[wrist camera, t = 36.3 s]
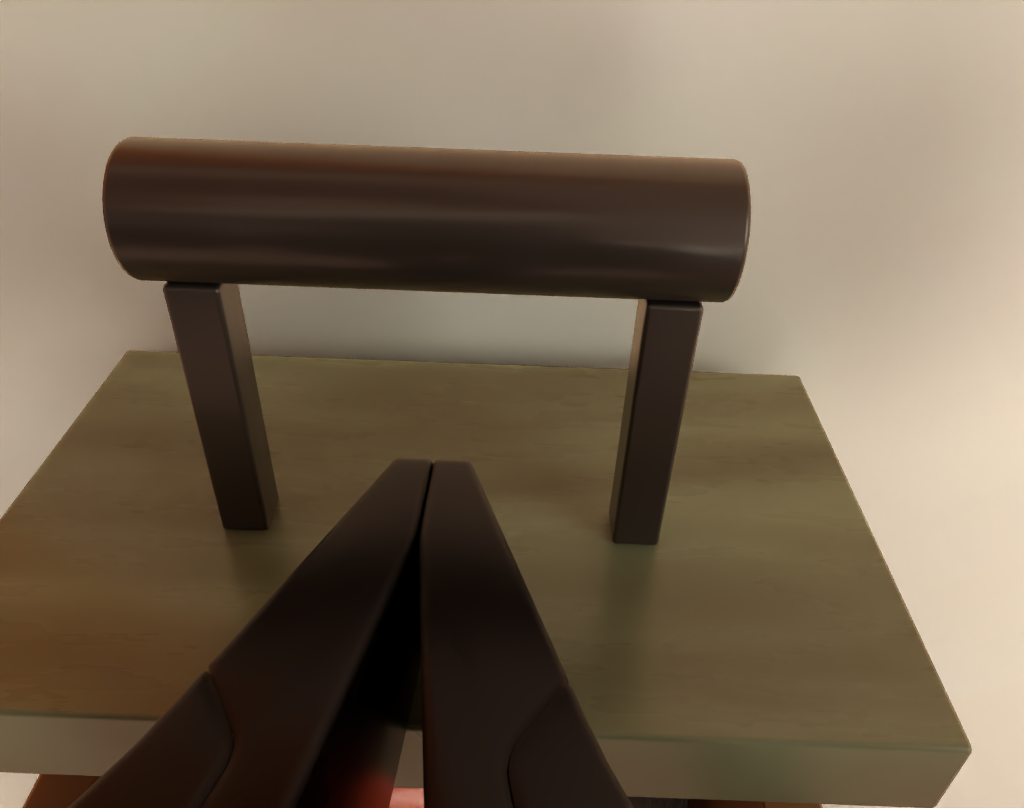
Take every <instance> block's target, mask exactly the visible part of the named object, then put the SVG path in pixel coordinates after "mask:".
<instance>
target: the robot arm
mask: <svg viewBox="0 0 1024 808" xmlns="http://www.w3.org/2000/svg"><path fill="white" fill-rule="evenodd" d="M420 665H421V696H422V742H423V788H424V808H634V807H633V805H632V804H631V802H630V800H629V798H628V797H627V795H626V793H625V791H624V790H623V788H622V786H621V785H620V783H619V781H618V779H617V778H616V776H615V774H614V772H613V771H612V769H611V767H610V765H609V764H608V762H607V760H606V758H605V756H604V753H603V751H602V749H601V747H600V745H599V743H598V741H597V739H596V737H595V735H594V733H593V731H592V729H591V727H590V725H589V723H588V721H587V719H586V717H585V715H584V712H583V710H582V708H581V706H580V703H579V701H578V699H577V697H576V694H575V692H574V690H573V688H572V687H571V686H570V685H568V684H569V681H568V677H567V675H566V673H565V671H564V669H563V666H562V664H561V662H560V660H559V657H558V655H557V653H556V651H555V648H554V646H553V644H552V642H551V639H550V637H549V635H548V633H547V630H546V628H545V626H544V624H543V621H542V619H541V617H540V615H539V613H538V610H537V608H536V606H535V604H534V601H533V599H532V597H531V595H530V592H529V590H528V588H527V586H526V583H525V581H524V579H523V577H522V574H521V572H520V570H519V568H518V565H517V563H516V561H515V559H514V557H513V554H512V552H511V550H510V548H509V545H508V543H507V541H506V539H505V536H504V534H503V532H502V530H501V527H500V525H499V523H498V521H497V518H496V516H495V514H494V512H493V510H492V507H491V505H490V503H489V501H488V498H487V496H486V494H485V492H484V489H483V487H482V485H481V483H480V480H479V478H478V476H477V474H476V471H475V469H474V467H473V465H472V464H471V462H469V461H468V460H454V459H438V460H436V461H435V463H434V464H433V463H432V461H431V460H430V459H427V458H397V459H395V460H394V461H393V462H392V463H391V464H390V465H389V466H388V467H387V469H386V470H385V471H384V472H383V473H382V474H381V475H380V476H379V477H378V479H377V480H376V481H375V482H374V483H373V484H372V485H371V486H370V487H369V489H368V490H367V491H366V492H365V493H364V494H363V495H362V496H361V497H360V498H359V500H358V501H357V502H356V503H355V504H354V505H353V506H352V507H351V508H350V510H349V511H348V512H347V513H346V514H345V515H344V516H343V517H342V518H341V520H340V521H339V522H338V523H337V524H336V525H335V526H334V527H333V528H332V529H331V531H330V532H329V533H328V534H327V535H326V536H325V537H324V538H323V539H322V541H321V542H320V543H319V544H318V545H317V546H316V547H315V548H314V549H313V551H312V552H311V553H310V554H309V555H308V556H307V557H306V558H305V559H304V561H303V562H302V563H301V564H300V565H299V566H298V567H297V568H296V569H295V570H294V572H293V573H292V574H291V575H290V576H289V577H288V578H287V579H286V580H285V582H284V583H283V584H282V585H281V586H280V587H279V588H278V589H277V590H276V592H275V593H274V594H273V595H272V596H271V597H270V598H269V599H268V600H267V602H266V603H265V604H264V605H263V606H262V607H261V608H260V609H259V610H258V611H257V613H256V614H255V615H254V616H253V617H252V618H251V619H250V620H249V621H248V623H247V624H246V625H245V626H244V627H243V628H242V629H241V630H240V631H239V633H238V634H237V635H236V636H235V637H234V638H233V639H232V640H231V641H230V643H229V644H228V645H227V646H226V647H225V648H224V649H223V650H222V651H221V652H220V654H219V655H218V656H217V657H216V658H215V659H214V660H213V661H212V662H211V664H210V665H209V667H208V669H209V672H210V673H209V672H208V671H203V672H202V673H201V674H200V675H199V676H198V677H197V679H196V680H195V681H194V682H193V683H192V684H191V685H190V686H189V687H188V689H187V690H186V691H185V692H184V693H183V694H182V695H181V696H180V697H179V699H178V700H177V701H176V702H175V703H174V704H173V705H172V706H171V707H170V708H169V709H168V710H167V711H166V712H165V713H164V714H163V715H162V716H161V717H160V719H159V720H158V721H157V722H156V723H155V724H154V725H153V726H152V727H151V728H150V729H149V730H148V731H147V732H146V733H145V734H144V735H143V736H142V737H141V739H140V740H139V741H138V742H137V743H136V744H135V745H134V746H133V747H131V748H130V749H129V750H128V751H127V752H126V753H125V754H124V755H123V756H122V757H121V758H120V759H119V760H118V761H117V762H116V763H115V764H114V765H113V766H112V767H111V768H109V769H108V770H107V771H106V772H105V773H104V774H103V775H102V776H101V777H100V778H99V779H98V780H97V781H96V782H95V783H94V784H93V785H92V786H91V787H90V788H89V789H87V790H86V791H85V792H84V793H83V794H82V795H81V796H80V797H79V798H78V799H77V800H76V801H74V802H73V803H72V804H71V805H70V806H69V807H68V808H389V806H390V801H391V797H392V792H393V788H394V783H395V779H396V774H397V770H398V765H399V760H400V756H401V751H402V747H403V742H404V738H405V733H406V729H407V724H408V720H409V715H410V711H411V706H412V702H413V697H414V693H415V688H416V684H417V679H418V675H419V670H420Z"/></svg>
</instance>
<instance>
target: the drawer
mask: <svg viewBox="0 0 1024 808" xmlns="http://www.w3.org/2000/svg"><path fill="white" fill-rule="evenodd" d="M102 202H103V216H104V223H105V228H106V233H107V237H108V240H109V243H110V247H111V249H112V252H113V254H114V256H115V258H116V260H117V262H118V263H119V265H120V266H121V268H122V269H123V270H124V271H125V272H126V273H127V274H128V275H130V276H132V277H134V278H136V279H138V280H144V281H167V282H166V283H165V285H164V287H163V292H164V296H165V300H166V304H167V308H168V312H169V316H170V320H171V324H172V328H173V332H174V336H175V340H176V344H177V348H178V352H156V351H128V352H126V354H125V355H124V356H123V358H122V359H121V360H120V362H119V363H118V364H117V366H116V367H115V368H114V370H113V371H112V372H111V374H110V375H109V376H108V377H107V379H106V380H105V381H104V383H103V384H102V385H101V387H100V388H99V389H98V391H97V392H96V393H95V395H94V396H93V397H92V399H91V400H90V401H89V403H88V404H87V405H86V407H85V408H84V409H83V411H82V412H81V413H80V415H79V416H78V417H77V419H76V420H75V421H74V423H73V424H72V425H71V427H70V428H69V429H68V430H67V432H66V433H65V434H64V436H63V437H62V438H61V440H60V441H59V442H58V444H57V445H56V446H55V448H54V449H53V450H52V452H51V453H50V454H49V456H48V457H47V458H46V460H45V461H44V462H43V464H42V465H41V466H40V468H39V469H38V470H37V472H36V473H35V474H34V476H33V477H32V478H31V480H30V481H29V482H28V483H27V485H26V486H25V487H24V489H23V490H22V491H21V493H20V494H19V495H18V497H17V498H16V499H15V501H14V502H13V503H12V505H11V506H10V507H9V509H8V510H7V511H6V513H5V514H4V515H3V517H2V518H1V519H0V772H7V773H33V774H40V775H39V777H38V779H37V781H36V782H35V784H34V786H33V788H32V790H31V792H30V794H29V796H28V798H27V800H26V802H25V804H24V806H23V808H68V807H69V806H70V805H71V804H72V803H73V802H74V801H76V800H77V799H78V798H79V797H80V796H81V795H82V794H83V793H84V792H85V791H86V790H87V789H89V788H90V787H91V786H92V785H93V784H94V783H95V782H96V781H97V780H98V779H99V778H100V777H101V776H102V775H103V774H104V773H105V772H106V771H107V770H108V769H109V768H111V767H112V766H113V765H114V764H115V763H116V762H117V761H118V760H119V759H120V758H121V757H122V756H123V755H124V754H125V753H126V752H127V751H128V750H129V749H130V748H131V747H133V746H134V745H135V744H136V743H137V742H138V741H139V740H140V739H141V737H142V736H143V735H144V734H145V733H146V732H147V731H148V730H149V729H150V728H151V727H152V726H153V725H154V724H155V723H156V722H157V721H158V720H159V719H160V717H161V716H162V715H163V714H164V713H165V712H166V711H167V710H168V709H169V708H170V707H171V706H172V705H173V704H174V703H175V702H176V701H177V700H178V699H179V697H180V696H181V695H182V694H183V693H184V692H185V691H186V690H187V689H188V687H189V686H190V685H191V684H192V683H193V682H194V681H195V680H196V679H197V677H198V676H199V675H200V674H201V673H202V672H203V671H208V672H209V669H208V667H209V665H210V664H211V662H212V661H213V660H214V659H215V658H216V657H217V656H218V655H219V654H220V652H221V651H222V650H223V649H224V648H225V647H226V646H227V645H228V644H229V643H230V641H231V640H232V639H233V638H234V637H235V636H236V635H237V634H238V633H239V631H240V630H241V629H242V628H243V627H244V626H245V625H246V624H247V623H248V621H249V620H250V619H251V618H252V617H253V616H254V615H255V614H256V613H257V611H258V610H259V609H260V608H261V607H262V606H263V605H264V604H265V603H266V602H267V600H268V599H269V598H270V597H271V596H272V595H273V594H274V593H275V592H276V590H277V589H278V588H279V587H280V586H281V585H282V584H283V583H284V582H285V580H286V579H287V578H288V577H289V576H290V575H291V574H292V573H293V572H294V570H295V569H296V568H297V567H298V566H299V565H300V564H301V563H302V562H303V561H304V559H305V558H306V557H307V556H308V555H309V554H310V553H311V552H312V551H313V549H314V548H315V547H316V546H317V545H318V544H319V543H320V542H321V541H322V539H323V538H324V537H325V536H326V535H327V534H328V533H329V532H330V531H331V529H332V528H333V527H334V526H335V525H336V524H337V523H338V522H339V521H340V520H341V518H342V517H343V516H344V515H345V514H346V513H347V512H348V511H349V510H350V508H351V507H352V506H353V505H354V504H355V503H356V502H357V501H358V500H359V498H360V497H361V496H362V495H363V494H364V493H365V492H366V491H367V490H368V489H369V487H370V486H371V485H372V484H373V483H374V482H375V481H376V480H377V479H378V477H379V476H380V475H381V474H382V473H383V472H384V471H385V470H386V469H387V467H388V466H389V465H390V464H391V463H392V462H393V461H394V460H395V459H397V458H427V459H430V460H431V461H432V463H433V464H434V463H435V461H436V460H438V459H454V460H468V461H469V462H471V464H472V465H473V467H474V469H475V471H476V474H477V476H478V478H479V480H480V483H481V485H482V487H483V489H484V492H485V494H486V496H487V498H488V501H489V503H490V505H491V507H492V510H493V512H494V514H495V516H496V518H497V521H498V523H499V525H500V527H501V530H502V532H503V534H504V536H505V539H506V541H507V543H508V545H509V548H510V550H511V552H512V554H513V557H514V559H515V561H516V563H517V565H518V568H519V570H520V572H521V574H522V577H523V579H524V581H525V583H526V586H527V588H528V590H529V592H530V595H531V597H532V599H533V601H534V604H535V606H536V608H537V610H538V613H539V615H540V617H541V619H542V621H543V624H544V626H545V628H546V630H547V633H548V635H549V637H550V639H551V642H552V644H553V646H554V648H555V651H556V653H557V655H558V657H559V660H560V662H561V664H562V666H563V669H564V671H565V673H566V675H567V677H568V681H569V684H568V685H570V686H571V687H572V688H573V690H574V692H575V694H576V697H577V699H578V701H579V703H580V706H581V708H582V710H583V712H584V715H585V717H586V719H587V721H588V723H589V725H590V727H591V729H592V731H593V733H594V735H595V737H596V739H597V741H598V743H599V745H600V747H601V749H602V751H603V753H604V756H605V758H606V760H607V762H608V764H609V765H610V767H611V769H612V771H613V772H614V774H615V776H616V778H617V779H618V781H619V783H620V785H621V786H622V788H623V790H624V791H625V793H626V795H627V796H630V797H656V798H682V799H690V804H689V808H823V807H822V804H838V805H864V806H890V807H916V808H933V807H935V806H936V805H937V803H938V802H939V800H940V799H941V797H942V796H943V794H944V793H945V791H946V790H947V788H948V787H949V785H950V784H951V782H952V781H953V779H954V778H955V776H956V775H957V773H958V772H959V770H960V769H961V767H962V766H963V764H964V763H965V761H966V760H967V758H968V757H969V755H970V754H971V750H972V749H971V745H970V742H969V740H968V738H967V736H966V734H965V732H964V730H963V727H962V725H961V723H960V721H959V719H958V717H957V714H956V712H955V710H954V708H953V706H952V704H951V702H950V699H949V697H948V695H947V693H946V691H945V689H944V687H943V684H942V682H941V680H940V678H939V676H938V674H937V672H936V669H935V667H934V665H933V663H932V661H931V659H930V657H929V654H928V652H927V650H926V648H925V646H924V644H923V641H922V639H921V637H920V635H919V633H918V631H917V629H916V626H915V624H914V622H913V620H912V618H911V616H910V614H909V611H908V609H907V607H906V605H905V603H904V601H903V599H902V596H901V594H900V592H899V590H898V588H897V586H896V584H895V581H894V579H893V577H892V575H891V573H890V571H889V568H888V566H887V564H886V562H885V560H884V558H883V556H882V553H881V551H880V549H879V547H878V545H877V543H876V541H875V538H874V536H873V534H872V532H871V530H870V528H869V526H868V523H867V521H866V519H865V517H864V515H863V513H862V511H861V508H860V506H859V504H858V502H857V500H856V498H855V496H854V493H853V491H852V489H851V487H850V485H849V483H848V480H847V478H846V476H845V474H844V472H843V470H842V468H841V465H840V463H839V461H838V459H837V457H836V455H835V453H834V450H833V448H832V446H831V444H830V442H829V440H828V438H827V435H826V433H825V431H824V429H823V427H822V425H821V423H820V420H819V418H818V416H817V414H816V412H815V410H814V407H813V405H812V403H811V401H810V399H809V397H808V395H807V392H806V390H805V388H804V386H803V384H802V382H801V380H800V377H798V376H788V375H762V374H736V373H709V372H691V371H692V366H693V361H694V356H695V350H696V345H697V340H698V335H699V330H700V325H701V319H702V314H703V306H702V303H701V302H724V301H727V300H729V299H730V298H731V297H732V296H733V294H734V292H735V291H736V288H737V286H738V284H739V281H740V278H741V276H742V272H743V269H744V265H745V260H746V255H747V250H748V243H749V235H750V223H751V196H750V187H749V181H748V176H747V172H746V169H745V167H744V165H743V164H742V163H741V162H739V161H737V160H734V159H708V158H681V157H654V156H628V155H601V154H575V153H548V152H522V151H495V150H468V149H442V148H415V147H389V146H362V145H336V144H309V143H282V142H256V141H229V140H203V139H176V138H150V137H129V138H126V139H124V140H122V141H121V142H119V143H118V144H117V145H116V146H115V148H114V149H113V151H112V153H111V155H110V157H109V159H108V162H107V165H106V169H105V174H104V180H103V194H102ZM238 284H250V285H277V286H303V287H329V288H356V289H382V290H409V291H435V292H462V293H488V294H514V295H541V296H567V297H594V298H620V299H638V307H637V314H636V321H635V328H634V336H633V343H632V350H631V357H630V364H629V369H604V368H578V367H551V366H525V365H498V364H472V363H446V362H419V361H393V360H367V359H340V358H314V357H288V356H261V355H251V351H250V346H249V340H248V335H247V330H246V325H245V319H244V314H243V309H242V304H241V299H240V293H239V288H238ZM209 673H210V672H209ZM394 787H397V788H423V742H422V696H421V665H420V670H419V675H418V679H417V684H416V688H415V693H414V697H413V702H412V706H411V711H410V715H409V720H408V724H407V729H406V733H405V738H404V742H403V747H402V751H401V756H400V760H399V765H398V770H397V774H396V779H395V783H394ZM423 789H424V788H423Z"/></svg>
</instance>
